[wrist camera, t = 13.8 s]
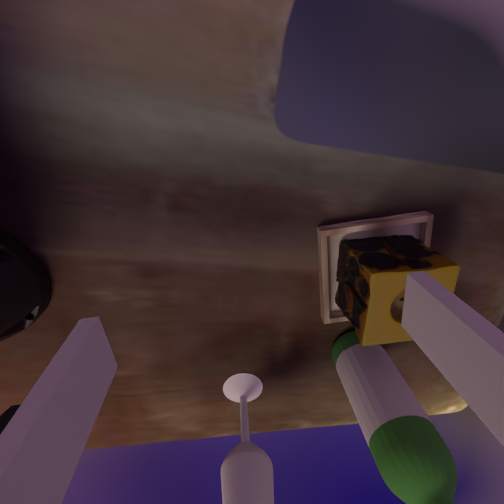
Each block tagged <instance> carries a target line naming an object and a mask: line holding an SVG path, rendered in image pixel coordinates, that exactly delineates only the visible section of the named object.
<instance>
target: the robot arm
mask: <svg viewBox="0 0 504 504" xmlns="http://www.w3.org/2000/svg"><path fill="white" fill-rule="evenodd" d="M50 296H51V286H50V281H49V277H48V275H47V272H46V270H45V268H44V267H43V265H42V264H41V262H40V261H39V259H38V258H37V257H36V256H35V255H34V254H33V253H32V252H31V251H30V250H29V249H28V248H27V247H25V246H24V245H23V244H21V243H20V242H19V241H17V240H15V239H14V238H12V237H10V236H8V235H6V234H3V233H1V232H0V342H1V341H3V340H5V339H7V338H9V337H11V336H13V335H15V334H17V333H19V332H21V331H23V330H25V329H26V328H28V327H29V326H30V325H32V324H33V323H34V322H35V321H36V320H37V319H38V317H39V316H40V315H41V314H42V313H43V312H44V311H45V309H46V308H47V306H48V304H49V301H50ZM401 326H402V327H403V328H404V329H405V330H406V332H407V333H408V334H409V335H410V336H411V338H412V339H413V340H414V341H415V342H416V344H417V345H418V346H419V347H420V348H421V349H422V351H423V352H424V353H425V354H426V355H427V357H428V358H429V359H430V360H431V361H432V362H433V364H434V365H435V366H436V367H437V368H438V370H439V371H440V372H441V373H442V374H443V376H444V377H445V378H446V379H447V380H448V381H449V383H450V384H451V385H452V386H453V387H454V389H455V390H456V391H457V392H458V393H459V394H460V396H461V397H462V398H463V399H464V400H465V402H466V403H467V404H468V405H469V406H470V407H471V409H472V410H473V411H474V412H475V413H476V415H477V416H478V417H479V418H480V419H481V421H482V422H483V423H484V424H485V425H486V426H487V428H488V429H489V430H490V431H491V432H492V434H493V435H494V436H495V437H496V438H497V440H498V441H499V442H500V443H501V444H502V445H503V447H504V332H501V331H500V330H499V329H498V328H497V327H495V326H494V325H493V324H492V323H490V322H489V321H488V320H486V319H485V318H484V317H483V316H481V315H480V314H479V313H477V312H476V311H475V310H474V309H472V308H471V307H470V306H468V305H467V304H466V303H465V302H463V301H462V300H461V299H459V298H458V297H457V296H456V295H454V294H453V293H452V292H451V291H449V290H448V289H447V288H445V287H444V286H443V285H442V284H440V283H439V282H438V281H436V280H435V279H434V278H433V277H431V276H430V275H429V274H427V273H426V272H425V271H422V272H415V273H408V274H407V279H406V288H405V296H404V305H403V314H402V323H401ZM117 367H118V366H117V363H116V361H115V358H114V356H113V353H112V350H111V348H110V345H109V342H108V340H107V337H106V335H105V332H104V329H103V327H102V324H101V321H100V319H99V317H92V318H85V319H80V320H79V321H78V323H77V324H76V326H75V327H74V329H73V330H72V332H71V333H70V334H69V336H68V337H67V339H66V340H65V342H64V343H63V345H62V346H61V347H60V349H59V350H58V352H57V353H56V355H55V356H54V358H53V359H52V361H51V362H50V363H49V365H48V366H47V368H46V369H45V371H44V372H43V374H42V375H41V376H40V378H39V379H38V381H37V382H36V384H35V385H34V387H33V388H32V390H31V391H30V392H29V394H28V395H27V397H26V398H25V400H24V401H23V403H22V404H21V405H14V406H11V407H10V408H9V409H8V410H6V411H5V412H4V413H3V414H2V415H1V416H0V504H61V503H62V501H63V498H64V496H65V493H66V491H67V489H68V486H69V484H70V481H71V479H72V476H73V474H74V472H75V469H76V467H77V464H78V462H79V459H80V457H81V455H82V452H83V450H84V447H85V445H86V442H87V440H88V438H89V435H90V433H91V430H92V428H93V425H94V423H95V421H96V418H97V416H98V413H99V411H100V408H101V406H102V404H103V401H104V399H105V396H106V394H107V391H108V389H109V387H110V384H111V382H112V379H113V377H114V374H115V372H116V370H117Z"/></svg>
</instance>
